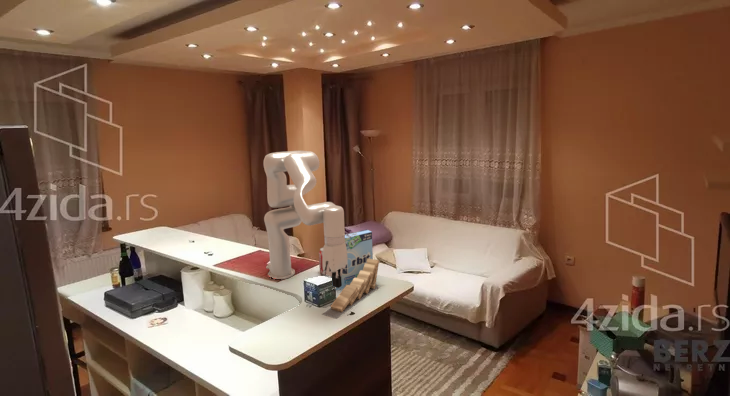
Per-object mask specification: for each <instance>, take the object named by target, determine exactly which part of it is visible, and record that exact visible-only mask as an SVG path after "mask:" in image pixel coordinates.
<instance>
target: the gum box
mask: <svg viewBox="0 0 730 396" xmlns="http://www.w3.org/2000/svg"><path fill="white" fill-rule="evenodd" d="M345 243H346V248H347V265H346V267H345V268H344V269H343V271H342V276H341V281H342V286H341V287H339V288H337V287H336V290H335V291H340V290H343V289H344V288H345V286H346V285H350V283H351V282H352V280H353V279H354V278H357V276H358V274H359V272H360V270H362V271H363V268H364V265H365V263H367V258H370V259H374V255H373V254H374V253H373V231H371V230H369V229H362V230H359V231H354V232H350V233H349V232H348V233H345ZM334 273H335V272H334ZM331 278H332V277H331V276H330V279H331Z"/></svg>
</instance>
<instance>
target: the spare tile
mask: <svg viewBox="0 0 730 396" xmlns="http://www.w3.org/2000/svg"><path fill="white" fill-rule="evenodd" d="M357 291H358V288H357V287H355V286H351V285H346V286H345V288H344V289H341V292H340V293H339V294H338V295H337V297H336V298H335V299H334V301H333V302H332V304H331V305H330V308H331V309H333V310H336V311H340V312H343V311H344V309H345V308H346V306H347V305H348V304H349V302H350V301H351V299H352V298H353V297H354V295H355V294H356V292H357Z"/></svg>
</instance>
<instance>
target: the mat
mask: <svg viewBox="0 0 730 396" xmlns="http://www.w3.org/2000/svg"><path fill="white" fill-rule="evenodd" d="M379 288H380V286H377V285H375V289H372V288H369V292H368V294H366V293H363V294H362V296H361V298H360V300H359V299H355V301H354V302H353V304H352V306H351V305H347V306H346V308H345V309H344V311H343V312H340V311H336V310H333V309H331V307H330V308H328V309H327V310H326V311H324V312H322V313H321V315H322V316H326V317H330V318H333V319H336V320H338V318H340V317H341V316H342V315H344V314H346V313H347V312H348V311H349V310H351V309H352V308H353V307H355V306H356V305H358V303H361V302H362V301H363V300H365V299H366V298H367V297H368V296H370V295H371V294H373V293H374V292H375V291H377V290H378V289H379Z"/></svg>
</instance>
